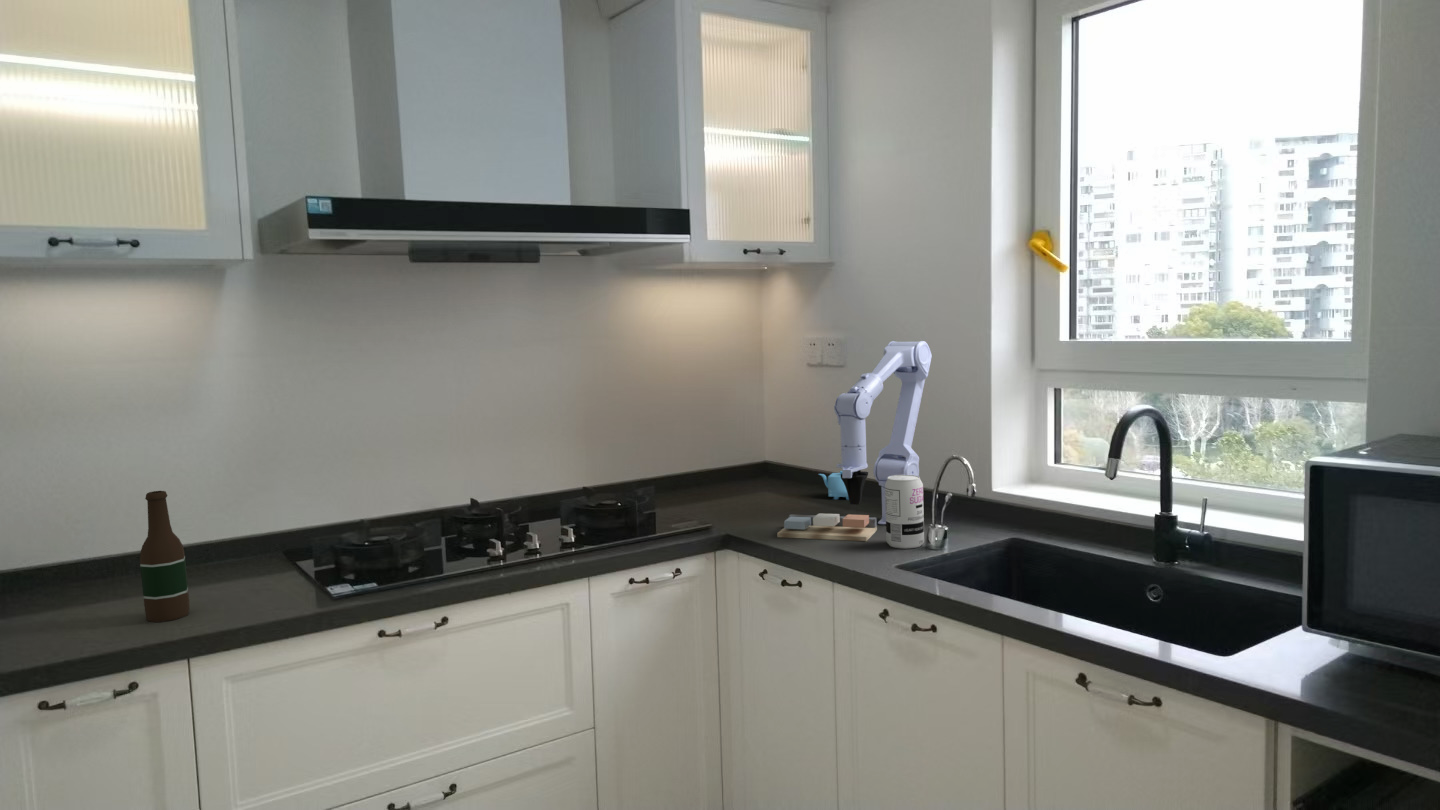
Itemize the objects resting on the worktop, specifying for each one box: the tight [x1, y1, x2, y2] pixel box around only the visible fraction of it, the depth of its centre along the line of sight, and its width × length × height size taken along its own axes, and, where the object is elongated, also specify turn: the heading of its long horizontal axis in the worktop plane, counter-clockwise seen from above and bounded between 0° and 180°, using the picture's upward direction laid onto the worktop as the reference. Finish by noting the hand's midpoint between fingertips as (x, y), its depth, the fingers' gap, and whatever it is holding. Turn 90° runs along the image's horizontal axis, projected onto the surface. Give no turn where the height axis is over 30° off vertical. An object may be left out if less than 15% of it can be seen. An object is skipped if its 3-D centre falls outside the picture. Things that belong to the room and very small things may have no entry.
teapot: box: [818, 470, 849, 501], centre depth 275 cm, size 12×6×8 cm, turn 72°
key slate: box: [783, 517, 811, 530], centre depth 235 cm, size 5×5×2 cm
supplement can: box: [885, 475, 925, 550], centre depth 219 cm, size 8×8×15 cm
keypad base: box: [776, 513, 878, 542], centre depth 233 cm, size 21×11×3 cm, turn 69°
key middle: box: [813, 512, 840, 526], centre depth 232 cm, size 5×5×2 cm
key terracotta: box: [843, 513, 870, 528], centre depth 230 cm, size 5×5×2 cm
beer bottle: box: [139, 490, 190, 623], centre depth 189 cm, size 8×8×24 cm
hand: (855, 503), depth 230 cm, fingers closed
